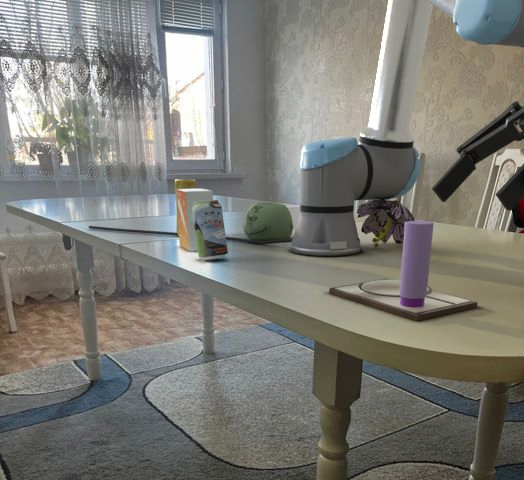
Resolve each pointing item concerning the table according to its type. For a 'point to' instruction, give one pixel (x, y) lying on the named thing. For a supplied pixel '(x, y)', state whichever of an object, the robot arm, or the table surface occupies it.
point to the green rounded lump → (268, 222)
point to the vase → (183, 185)
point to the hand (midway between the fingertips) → (467, 198)
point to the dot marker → (415, 263)
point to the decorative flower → (384, 219)
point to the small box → (189, 215)
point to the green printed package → (209, 229)
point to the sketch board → (388, 299)
